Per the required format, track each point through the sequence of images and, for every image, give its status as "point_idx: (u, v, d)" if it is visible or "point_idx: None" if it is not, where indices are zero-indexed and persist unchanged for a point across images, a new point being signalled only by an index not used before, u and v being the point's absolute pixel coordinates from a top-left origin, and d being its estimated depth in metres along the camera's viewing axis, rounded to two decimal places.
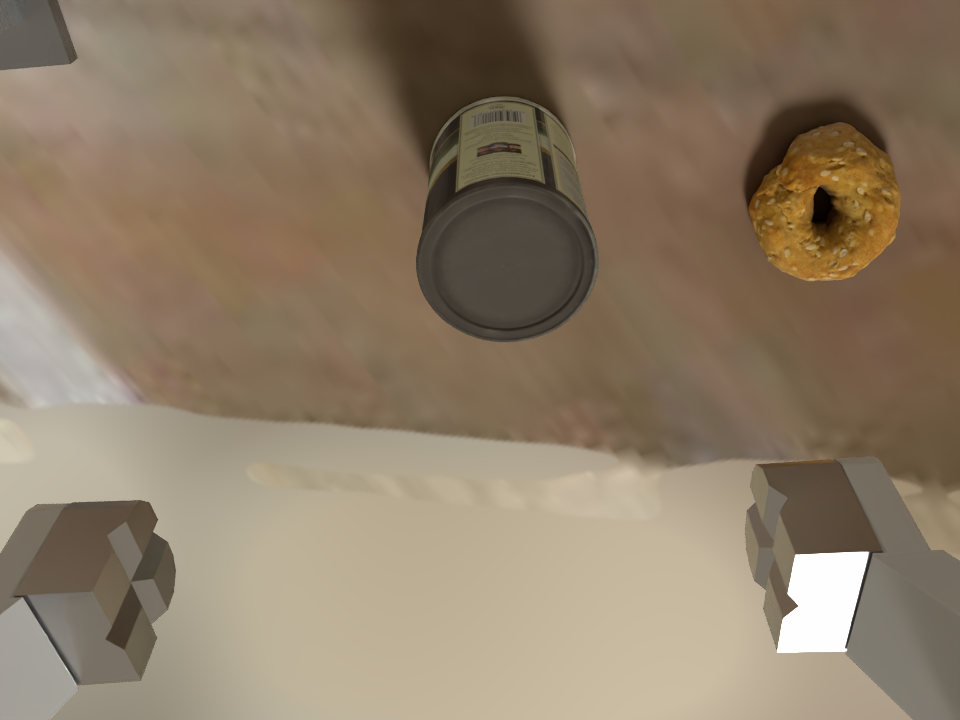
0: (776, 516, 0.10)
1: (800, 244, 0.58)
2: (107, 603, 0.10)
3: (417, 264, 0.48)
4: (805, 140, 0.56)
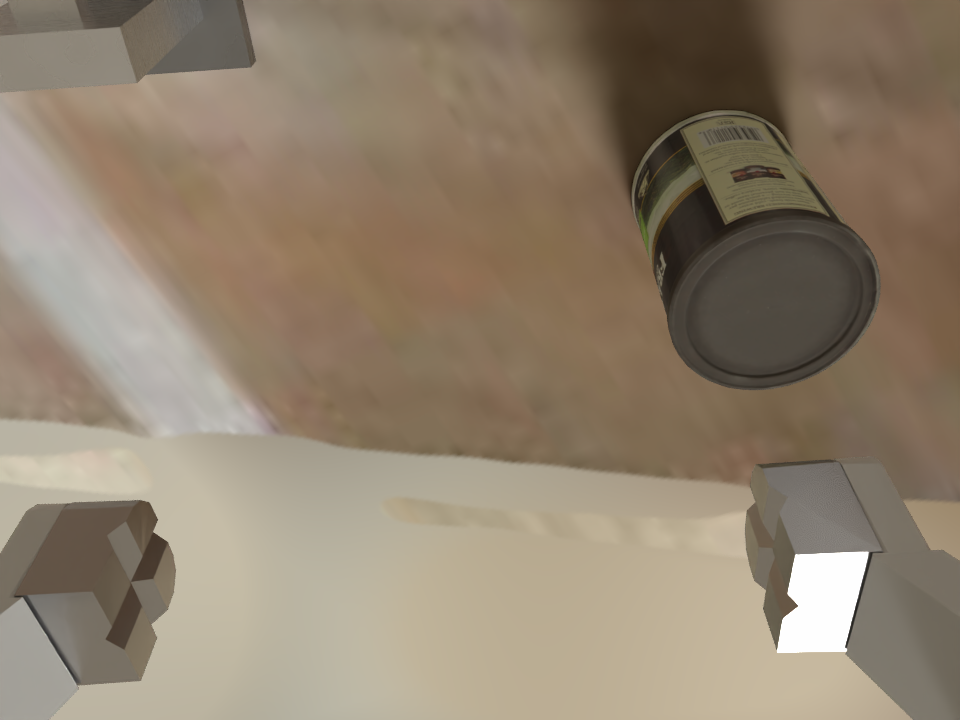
0: (776, 516, 0.10)
1: None
2: (107, 602, 0.10)
3: (671, 304, 0.42)
4: None
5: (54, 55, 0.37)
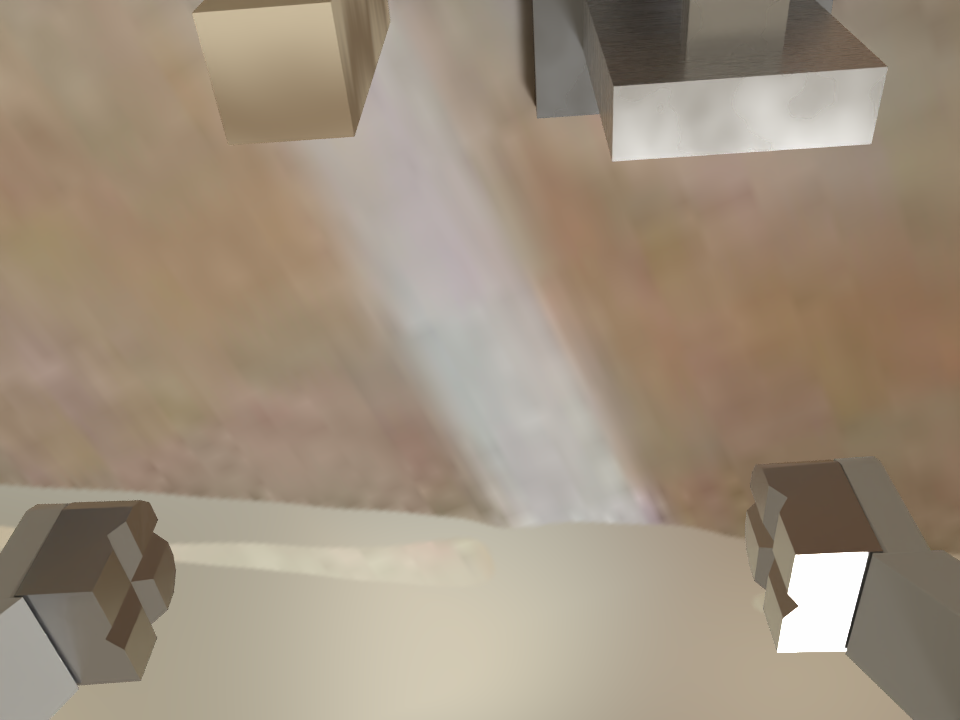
0: (776, 516, 0.10)
1: None
2: (107, 602, 0.10)
3: None
4: None
5: (771, 107, 0.26)
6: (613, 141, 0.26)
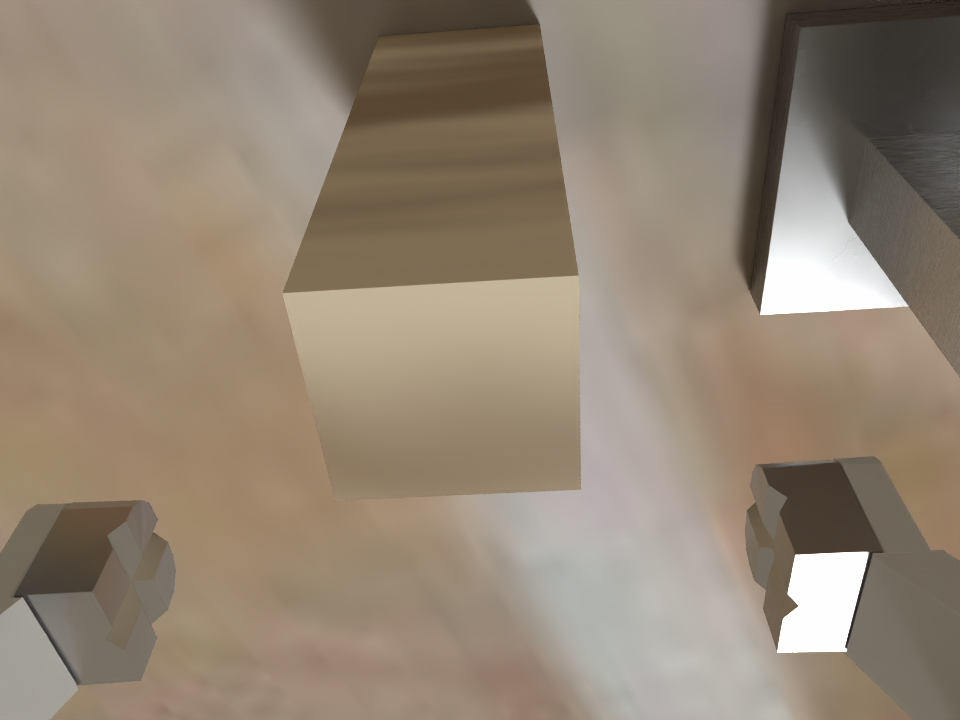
0: (776, 516, 0.10)
1: None
2: (107, 602, 0.10)
3: None
4: None
5: None
6: None
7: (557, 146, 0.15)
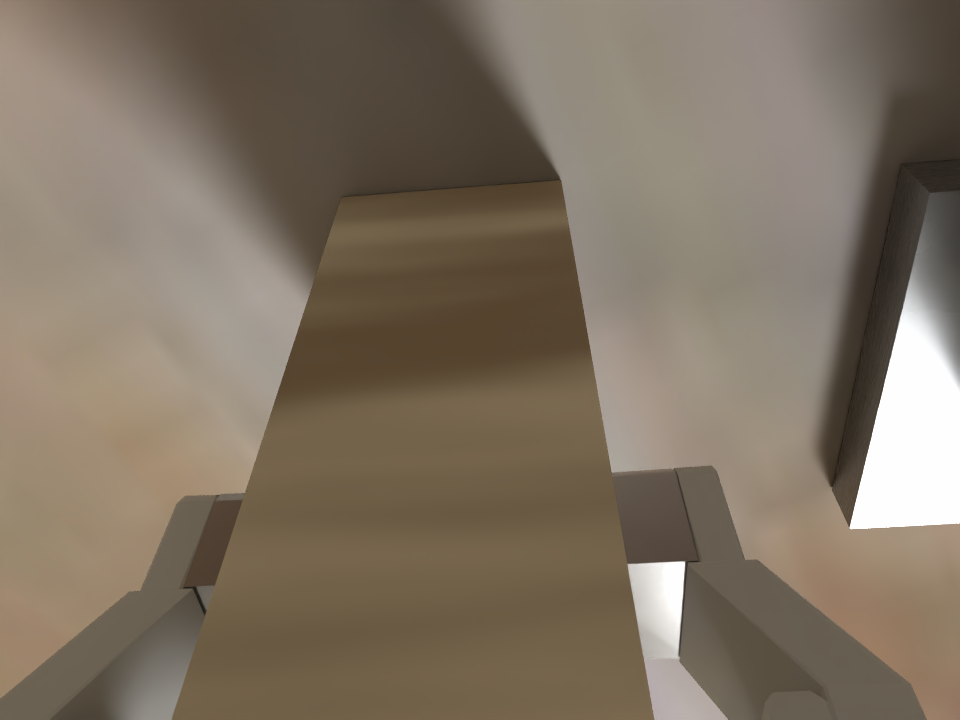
0: None
1: None
2: None
3: None
4: None
5: None
6: None
7: (610, 475, 0.09)
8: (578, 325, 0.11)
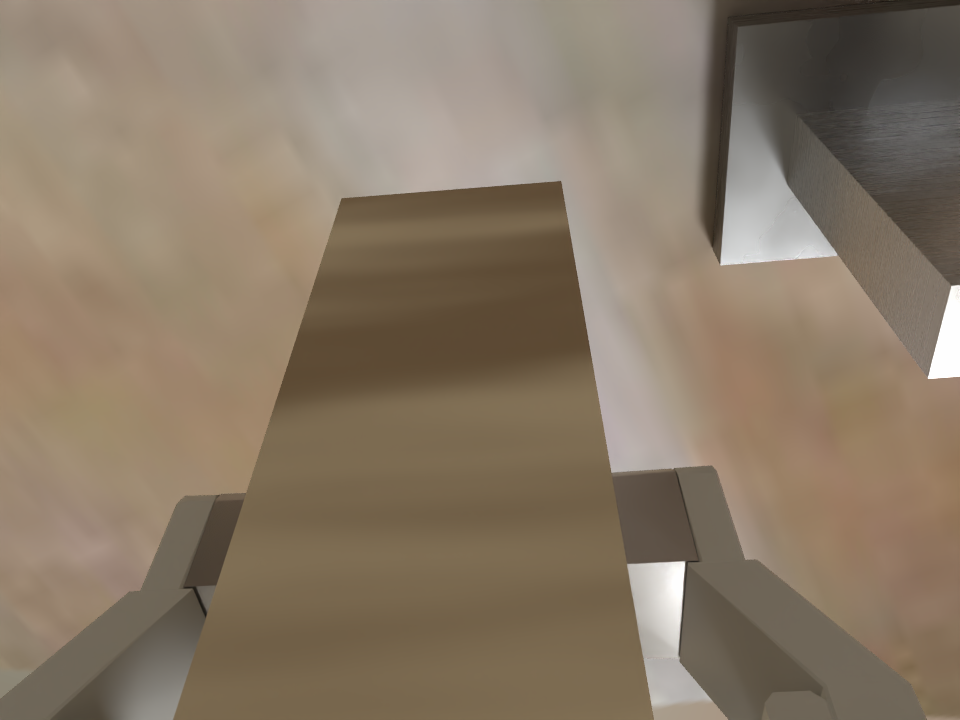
0: None
1: None
2: None
3: None
4: None
5: None
6: (935, 354, 0.19)
7: (609, 476, 0.09)
8: (578, 326, 0.11)
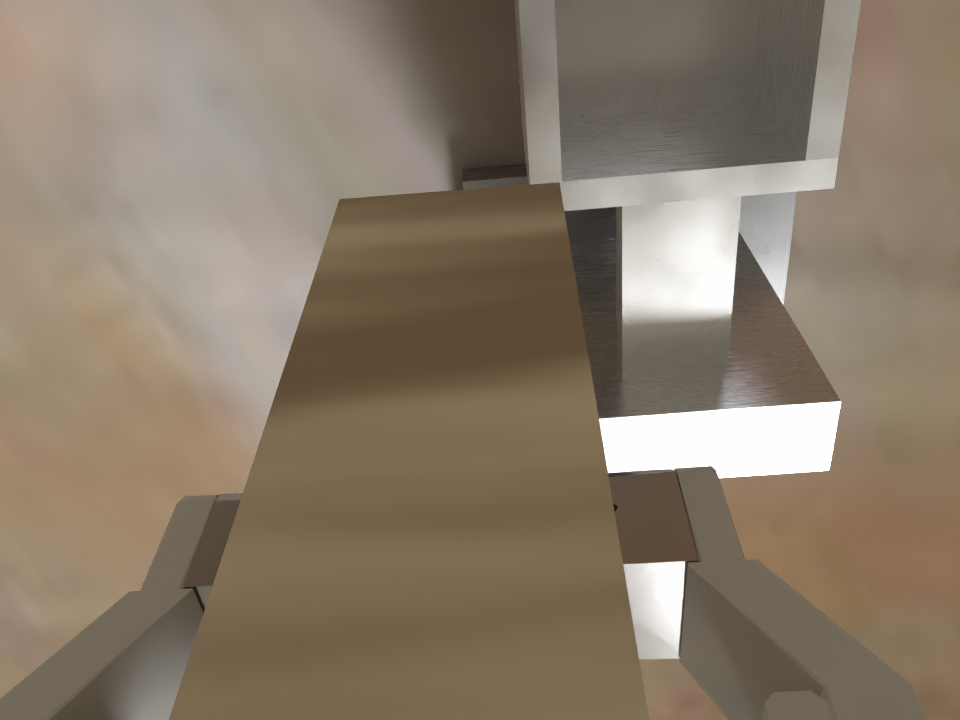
0: None
1: None
2: None
3: None
4: None
5: (715, 439, 0.23)
6: None
7: (607, 479, 0.09)
8: (576, 328, 0.11)
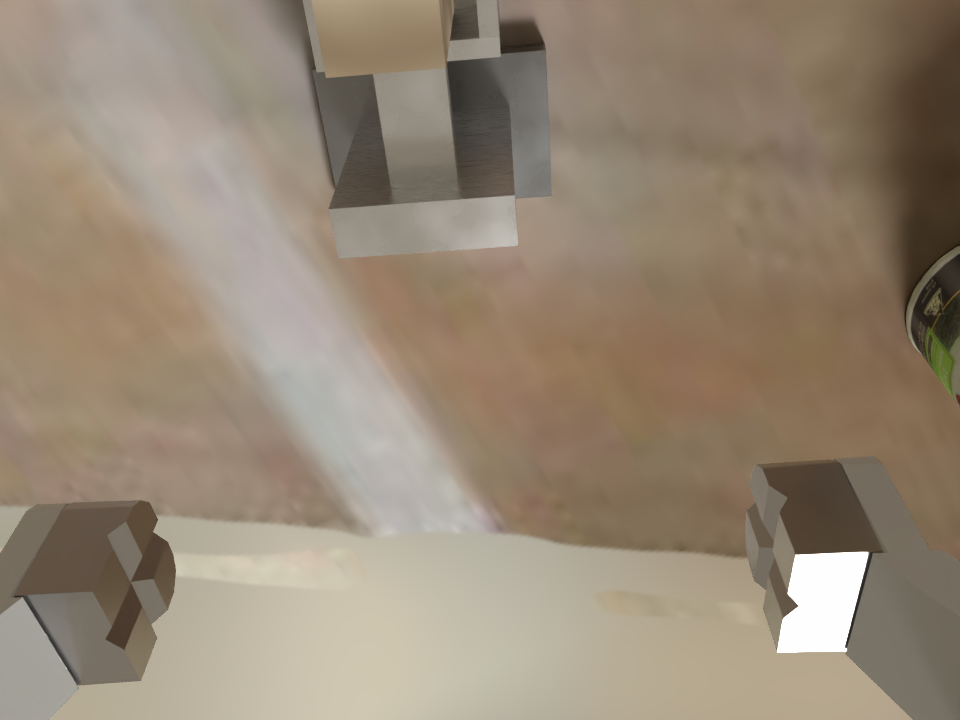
0: (776, 516, 0.10)
1: None
2: (107, 602, 0.10)
3: None
4: None
5: (441, 222, 0.37)
6: (336, 245, 0.37)
7: None
8: None
